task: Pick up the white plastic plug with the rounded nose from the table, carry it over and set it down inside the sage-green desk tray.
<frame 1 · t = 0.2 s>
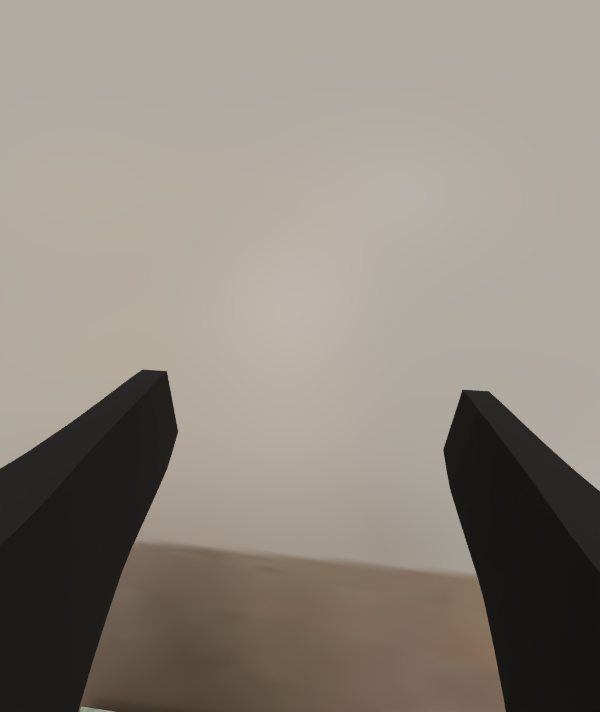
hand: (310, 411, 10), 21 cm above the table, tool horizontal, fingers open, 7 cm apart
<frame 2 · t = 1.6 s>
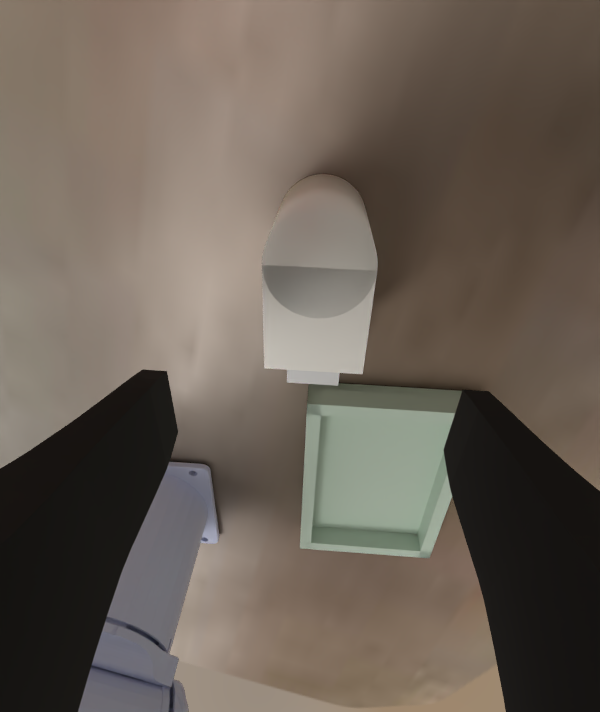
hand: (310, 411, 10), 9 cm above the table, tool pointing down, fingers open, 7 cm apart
tray: (374, 467, 25), on the table
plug: (319, 267, 18), on the table
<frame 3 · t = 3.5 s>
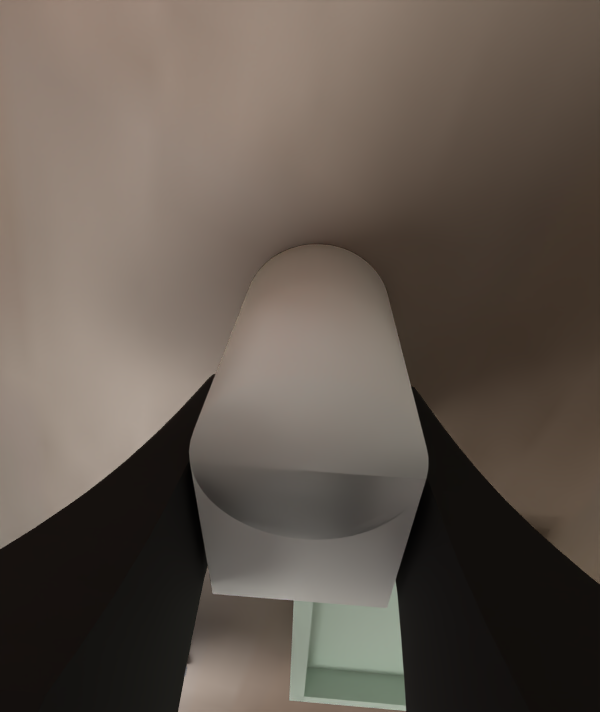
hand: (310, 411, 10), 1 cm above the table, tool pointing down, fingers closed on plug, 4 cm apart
tray: (389, 607, 18), on the table
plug: (312, 377, 12), on the table, touching gripper
when the fingers open (3 cm above the table, at t = 6.6 s): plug stays where it is, resting on tray.
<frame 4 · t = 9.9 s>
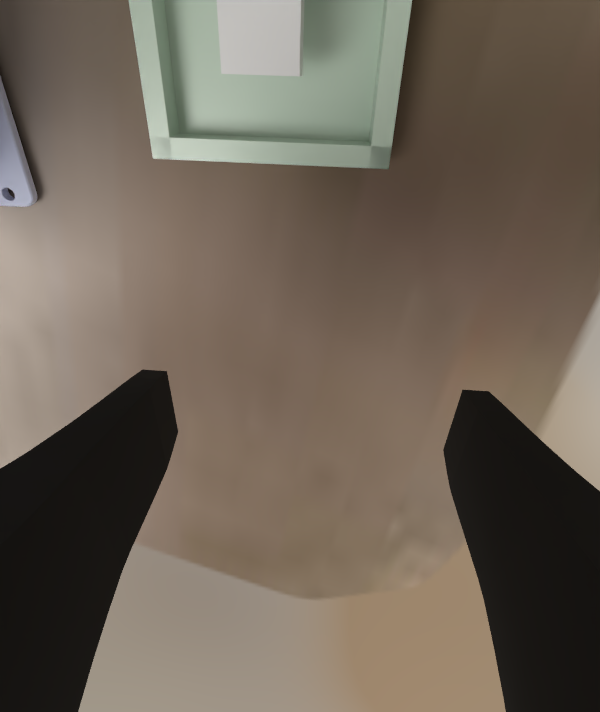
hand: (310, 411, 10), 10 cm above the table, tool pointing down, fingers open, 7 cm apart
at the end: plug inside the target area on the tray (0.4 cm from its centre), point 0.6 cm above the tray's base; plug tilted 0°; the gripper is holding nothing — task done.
